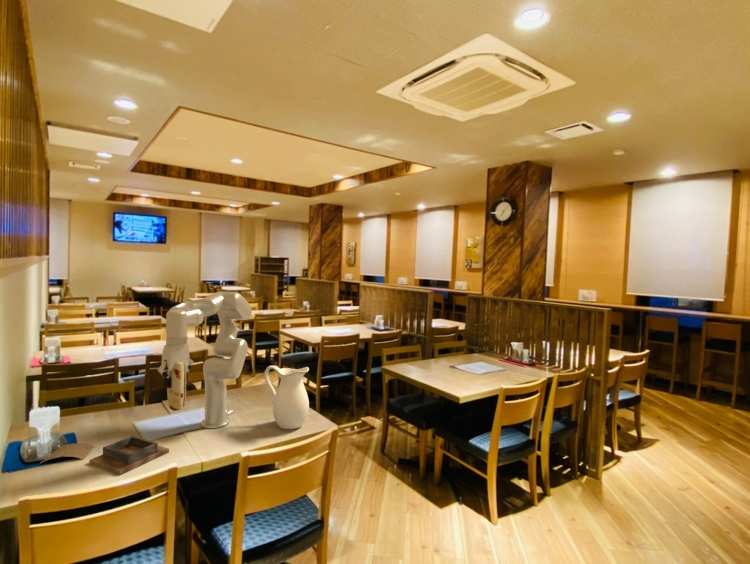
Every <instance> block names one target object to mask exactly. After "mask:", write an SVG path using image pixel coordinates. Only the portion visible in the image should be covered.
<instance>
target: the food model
mask: <svg viewBox="0 0 750 564" xmlns="http://www.w3.org/2000/svg"><path fill="white" fill-rule="evenodd" d="M186 370H187V369H186V363H185V364H183V362H181V363H180V362H176V363H175V365H174V370H173V371H172V373H171V376H170V378H171V388H166V394H167V397H166V398H167V403H168V404H167V405H168V407H169V409H170V410H172V411H174V412H176V411H180V410H182V409H183V407H185V406H186V402H187V401H186V400H187V399H186V398H187V383H186Z"/></svg>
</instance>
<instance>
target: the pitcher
mask: <svg viewBox="0 0 750 564" xmlns="http://www.w3.org/2000/svg"><path fill="white" fill-rule="evenodd" d="M270 370H274V371H275V372H276V373H277V374H278V376H279V378H280V383H279V386H278V388H277V390H275V388H274V386H273V384H272V383H271V381H270V377H269V372H270ZM309 371H310V368H309V367H308V366H305V367H302V368H301V367H300V368H298V369H293V368H289V367H286V368H285V367H283V368H280V367H279V366H278V365H269V366H267V367H266V369H264V375H263V376H264V380H265V383H266V385H267V387H268V388H269V390H270V391H271V394H272V396H273V401H272V413H273V418H274V420H275V422H276V424H277V426H278V427H279V428H281V429H283V430H296V429H299V428H301V427H302V426H304V424H305V422H306V421H307V418H308V414H309V409H310V401H309V396H308V395H309V394H308V392H307V390H306V387H305V384H304V380H303V379H304V378H303V377H304V376H305V374H306V373H308V372H309Z"/></svg>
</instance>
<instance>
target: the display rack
mask: <svg viewBox="0 0 750 564" xmlns="http://www.w3.org/2000/svg"><path fill="white" fill-rule="evenodd" d="M169 453H170V448H168V447H165V446H162V445H159V444H158V442H154V441H151V440H148V439H145V438H141V437H138V436H136V435H130V436H128V437H126V438H123V439H120V440H118V441H115V442H114V443H113V442H112V443H110V444H108V445H106V446H103V447H102V454H100V455H97V456H95V457H93V458H90V459H89V460H88V462H89V465H92V466H94V467H97V468H100V469H102V470H105V471H108V472H110V473H113V474H116V475H119V476H121V475H122V476H123V475H124V474H126V473H128V472H130V471H132V470H135V469H136V468H139V467H141V466H143V465H145V464H148V463H149V462H152V461H154V460H155V459H158V458H160V457H162V456H164V455H166V454H169Z"/></svg>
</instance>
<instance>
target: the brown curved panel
mask: <svg viewBox="0 0 750 564" xmlns="http://www.w3.org/2000/svg"><path fill="white" fill-rule="evenodd" d="M59 447H60V448H59ZM59 447H58V448H59V449H57V448H56V449H57V450H56V451H55V452H53V453H52V454H51V455H50V456H49V457H47V456H46V457H47V458H46V457H45V458H46V459H45V458H44V459H45V460H44V459H43V460H44V461H43V460H42V461H40V464H42V463H44V462H46V461H48V460H52V459H57V458H61V457H68V458H69V457H73V458H77V459H80V460H85V459H86V458H87V456H88V455H89V454H90V453H91V451H92V450H93V449H94V448H95V447H94V445H91V444H88V443H82V442H81V443H68V444H64V445H61V446H59Z"/></svg>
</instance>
